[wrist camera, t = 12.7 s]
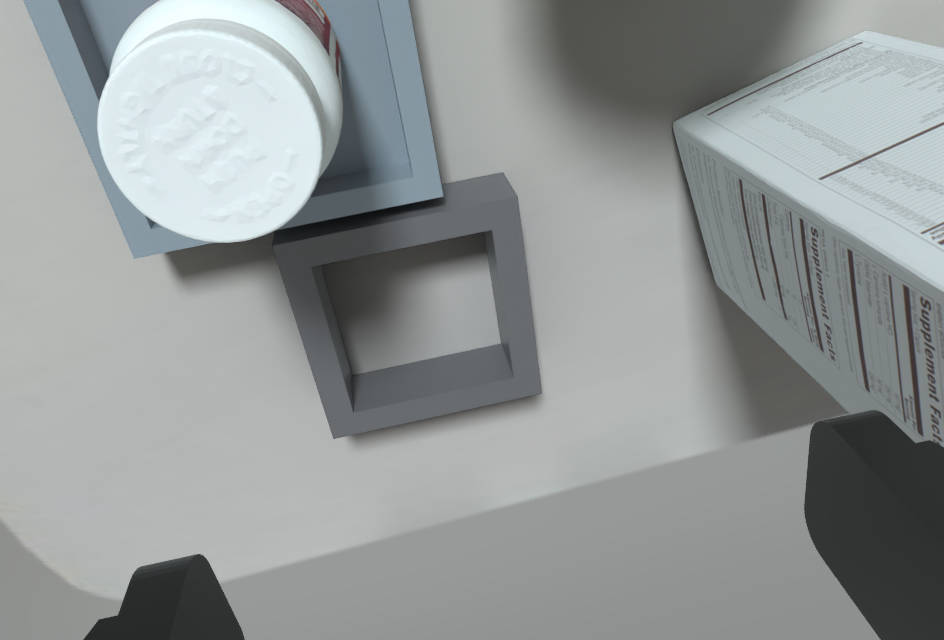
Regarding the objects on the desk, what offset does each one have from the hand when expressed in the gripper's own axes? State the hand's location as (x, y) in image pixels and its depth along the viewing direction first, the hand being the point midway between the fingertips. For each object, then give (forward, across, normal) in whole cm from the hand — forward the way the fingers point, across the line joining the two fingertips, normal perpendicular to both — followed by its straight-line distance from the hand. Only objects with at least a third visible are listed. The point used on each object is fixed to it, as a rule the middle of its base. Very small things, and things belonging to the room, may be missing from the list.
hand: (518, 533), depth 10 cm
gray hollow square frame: (+23, +2, +8) cm, 25 cm away
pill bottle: (+22, +5, -4) cm, 23 cm away
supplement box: (+24, -16, +6) cm, 30 cm away
